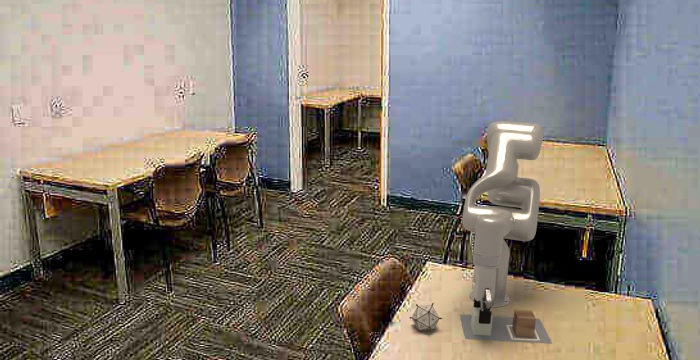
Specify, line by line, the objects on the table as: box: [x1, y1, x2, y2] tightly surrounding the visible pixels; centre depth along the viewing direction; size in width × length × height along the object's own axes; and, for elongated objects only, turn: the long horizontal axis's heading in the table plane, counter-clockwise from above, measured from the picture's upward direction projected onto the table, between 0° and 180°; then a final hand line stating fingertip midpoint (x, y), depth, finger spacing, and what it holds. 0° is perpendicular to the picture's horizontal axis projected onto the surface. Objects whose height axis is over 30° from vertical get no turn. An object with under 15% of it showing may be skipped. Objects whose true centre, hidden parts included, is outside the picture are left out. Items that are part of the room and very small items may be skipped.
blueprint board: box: [459, 314, 553, 345], centre depth 168 cm, size 14×24×1 cm, turn 86°
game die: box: [408, 302, 443, 332], centre depth 166 cm, size 9×8×10 cm
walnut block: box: [512, 309, 536, 338], centre depth 165 cm, size 5×5×6 cm
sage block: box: [471, 306, 494, 336], centre depth 166 cm, size 5×5×6 cm
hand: (481, 315), depth 164 cm, fingers open, 9 cm apart
